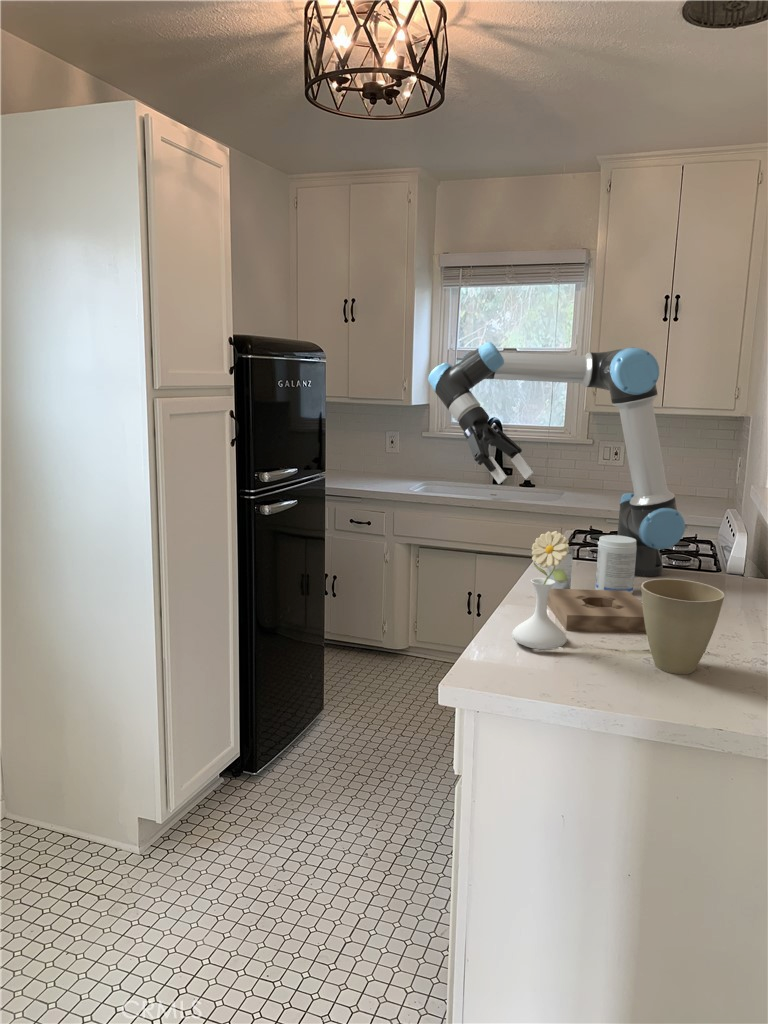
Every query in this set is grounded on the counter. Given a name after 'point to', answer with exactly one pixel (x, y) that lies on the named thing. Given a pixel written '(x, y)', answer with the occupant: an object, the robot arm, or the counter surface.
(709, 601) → the plant pot
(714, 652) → the counter surface
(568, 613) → the walnut socket block
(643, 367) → the robot arm
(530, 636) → the flower in vase
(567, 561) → the silver capped jar
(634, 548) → the supplement tub
